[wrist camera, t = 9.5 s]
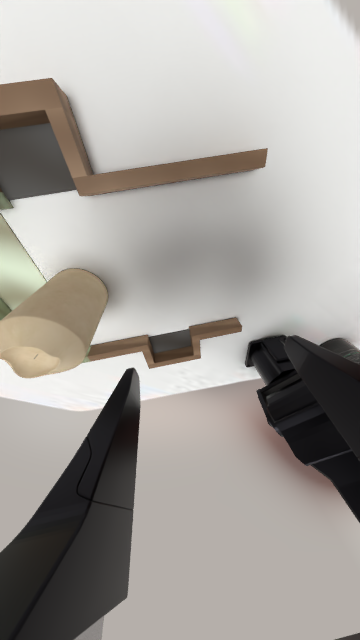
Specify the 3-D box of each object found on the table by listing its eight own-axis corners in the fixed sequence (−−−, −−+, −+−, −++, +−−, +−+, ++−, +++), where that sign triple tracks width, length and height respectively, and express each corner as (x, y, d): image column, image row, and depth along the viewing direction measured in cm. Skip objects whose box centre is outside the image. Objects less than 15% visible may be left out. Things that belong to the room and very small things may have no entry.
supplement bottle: (337, 356, 35) (407, 416, 25) (305, 364, 35) (364, 427, 25) (351, 333, 30) (442, 395, 21) (316, 342, 30) (391, 408, 21)
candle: (94, 320, 21) (59, 396, 13) (44, 295, 18) (-39, 374, 10) (117, 288, 19) (94, 356, 11) (66, 256, 16) (-18, 314, 8)
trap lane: (233, 341, 27) (238, 350, 25) (64, 375, 26) (59, 386, 24) (263, 69, 11) (282, 48, 9) (-177, 128, 10) (-239, 115, 8)
